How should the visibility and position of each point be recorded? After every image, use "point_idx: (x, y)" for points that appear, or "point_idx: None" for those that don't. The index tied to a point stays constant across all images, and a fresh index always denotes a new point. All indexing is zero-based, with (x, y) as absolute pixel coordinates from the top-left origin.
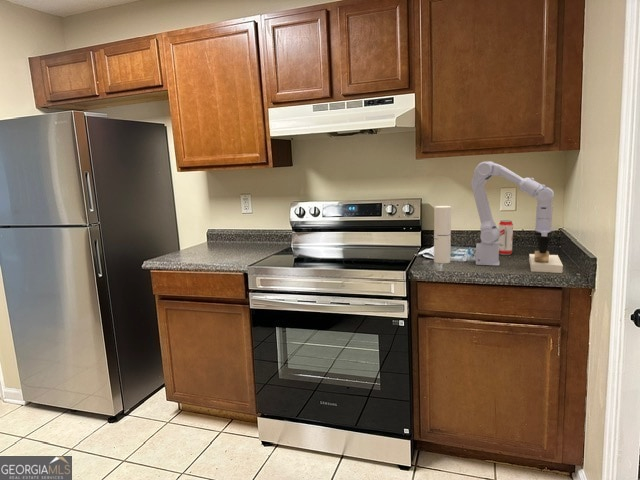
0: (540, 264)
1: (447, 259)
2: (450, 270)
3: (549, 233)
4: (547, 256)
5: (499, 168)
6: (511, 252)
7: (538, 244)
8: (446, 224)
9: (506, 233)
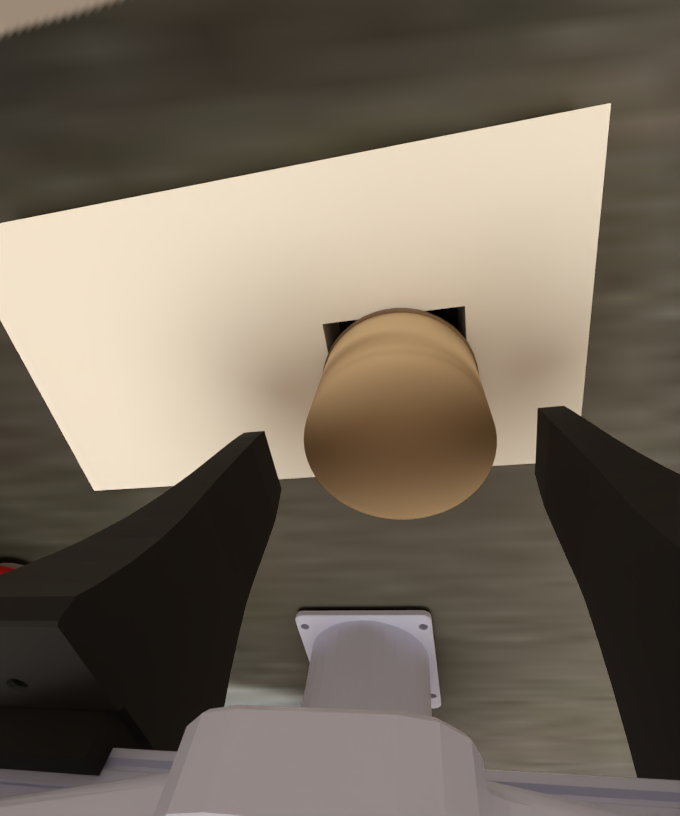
0: (583, 382)
1: None
2: (626, 774)
3: (79, 610)
4: (452, 352)
5: None
6: (4, 572)
7: (263, 546)
8: None
9: None
